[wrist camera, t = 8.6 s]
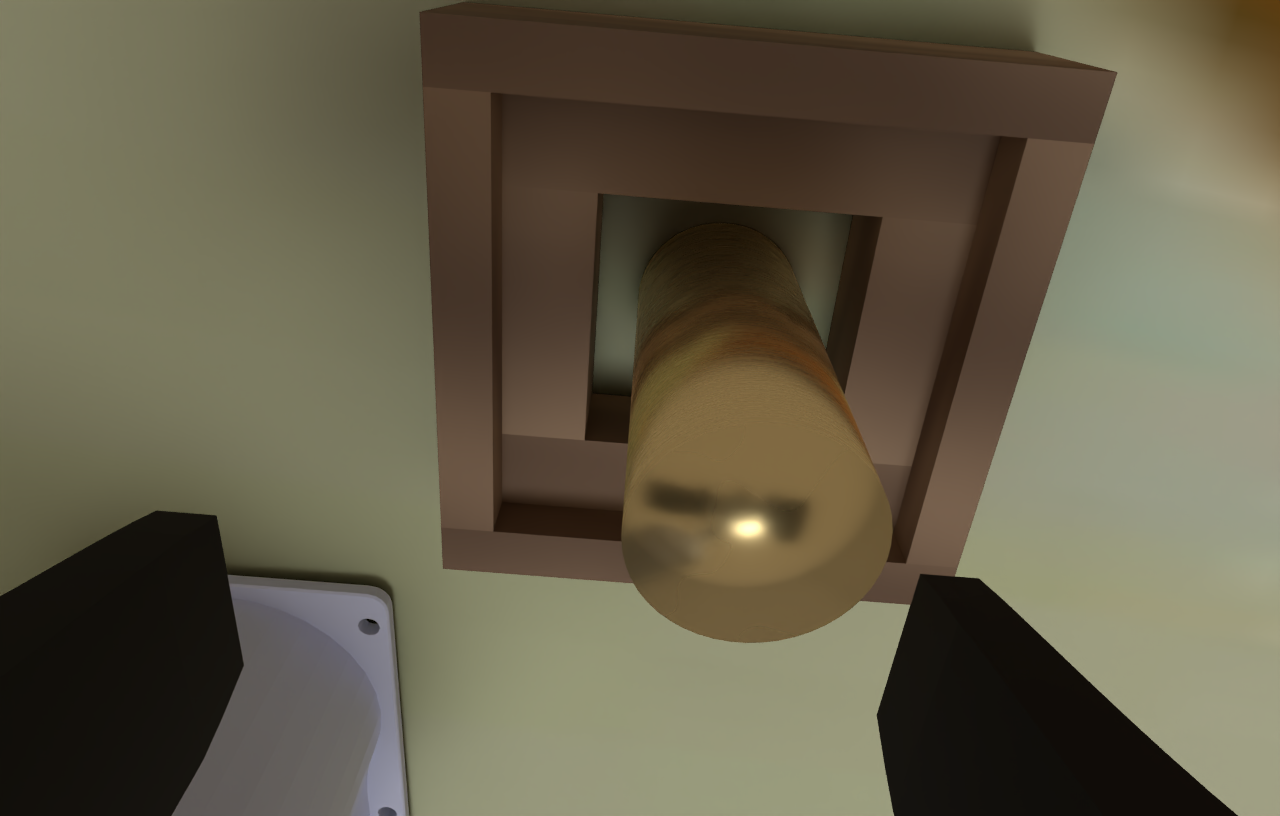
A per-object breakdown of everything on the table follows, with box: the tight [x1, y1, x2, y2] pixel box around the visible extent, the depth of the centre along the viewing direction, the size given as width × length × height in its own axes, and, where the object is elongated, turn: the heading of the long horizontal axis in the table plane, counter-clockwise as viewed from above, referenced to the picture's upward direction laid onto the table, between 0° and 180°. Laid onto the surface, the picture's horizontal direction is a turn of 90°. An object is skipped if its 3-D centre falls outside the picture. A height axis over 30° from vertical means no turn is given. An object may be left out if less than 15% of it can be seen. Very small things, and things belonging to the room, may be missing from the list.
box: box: [420, 2, 1117, 605], centre depth 16 cm, size 10×10×3 cm
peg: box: [621, 223, 893, 643], centre depth 14 cm, size 3×3×8 cm
